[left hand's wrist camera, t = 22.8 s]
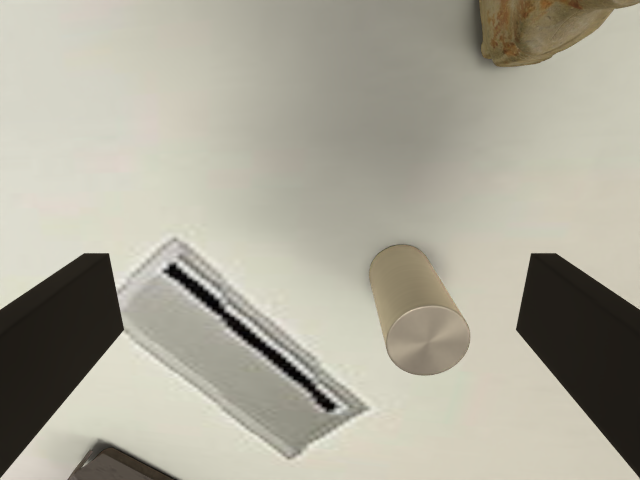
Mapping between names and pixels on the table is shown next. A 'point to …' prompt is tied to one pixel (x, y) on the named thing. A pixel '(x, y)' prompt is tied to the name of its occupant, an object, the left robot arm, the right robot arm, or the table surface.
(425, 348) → the canister
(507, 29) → the sculpture
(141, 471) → the toy
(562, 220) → the table surface
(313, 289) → the table surface
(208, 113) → the table surface
